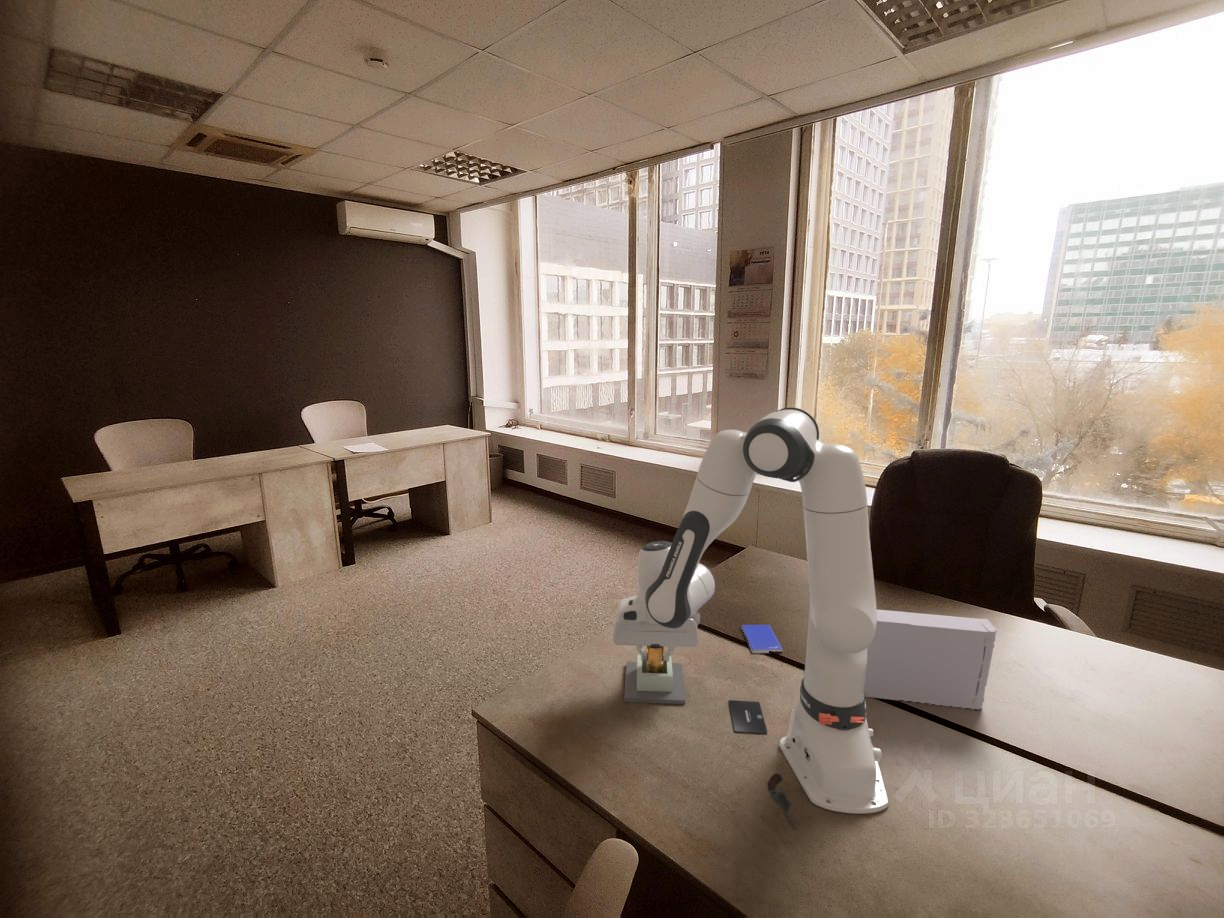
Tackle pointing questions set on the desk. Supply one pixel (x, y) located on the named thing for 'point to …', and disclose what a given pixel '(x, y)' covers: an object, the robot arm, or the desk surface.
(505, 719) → the desk surface
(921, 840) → the desk surface
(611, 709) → the desk surface
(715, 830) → the desk surface
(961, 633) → the game console
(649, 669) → the bottle
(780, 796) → the dark curved piece
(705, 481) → the robot arm
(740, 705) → the solid state drive
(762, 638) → the hard drive
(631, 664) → the docking plate
